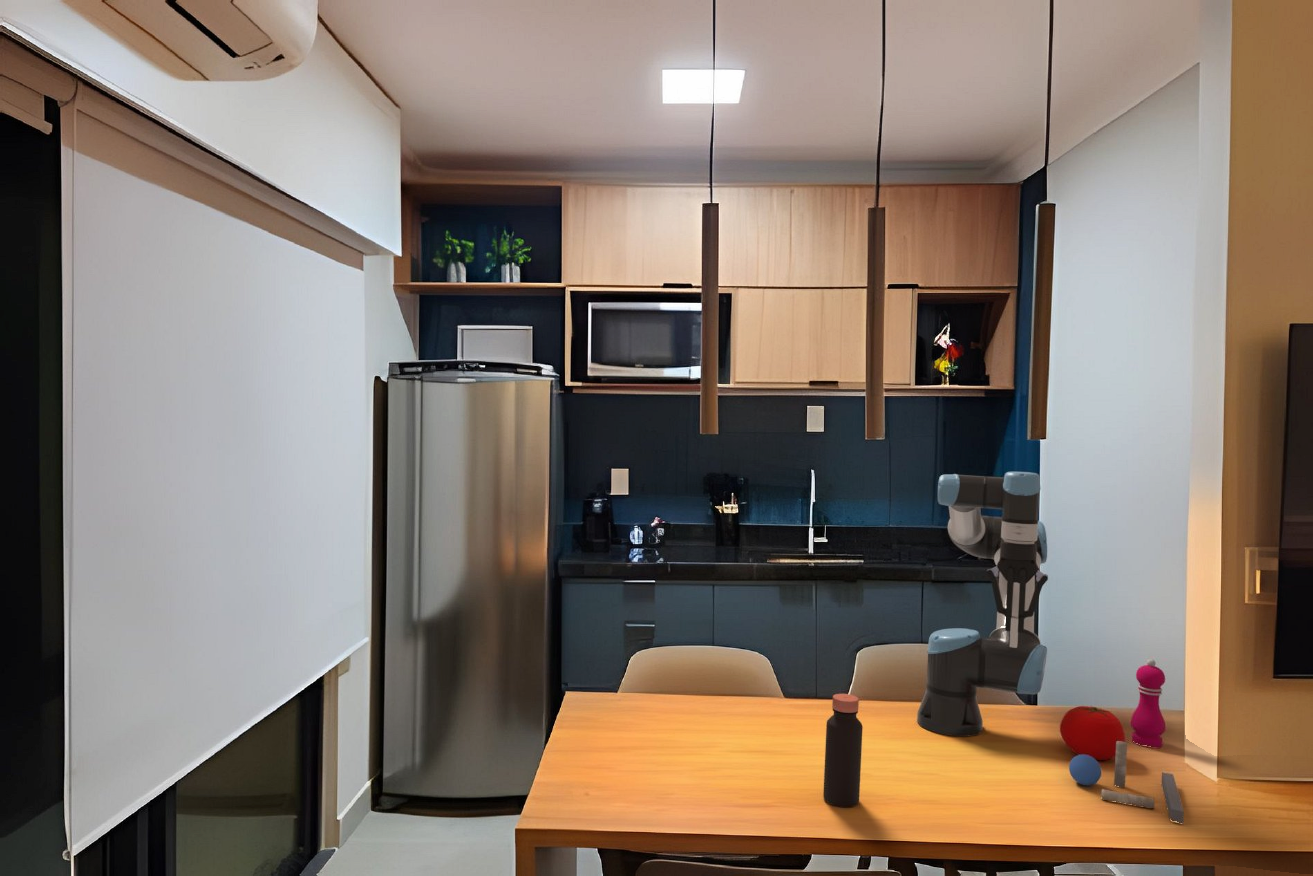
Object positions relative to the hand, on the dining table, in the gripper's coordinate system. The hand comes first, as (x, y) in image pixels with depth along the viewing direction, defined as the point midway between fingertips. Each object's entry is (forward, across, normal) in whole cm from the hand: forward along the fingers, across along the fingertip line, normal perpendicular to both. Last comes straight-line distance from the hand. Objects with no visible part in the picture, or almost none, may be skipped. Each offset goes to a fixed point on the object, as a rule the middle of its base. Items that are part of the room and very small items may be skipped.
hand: (1013, 646), depth 197 cm
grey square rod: (+24, +31, -12) cm, 41 cm away
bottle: (+24, -27, -44) cm, 57 cm away
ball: (+21, +15, -10) cm, 28 cm away
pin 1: (+24, +22, -7) cm, 33 cm away
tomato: (+25, +17, +9) cm, 31 cm away
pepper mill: (+25, +29, +24) cm, 45 cm away
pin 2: (+23, +18, -16) cm, 34 cm away
